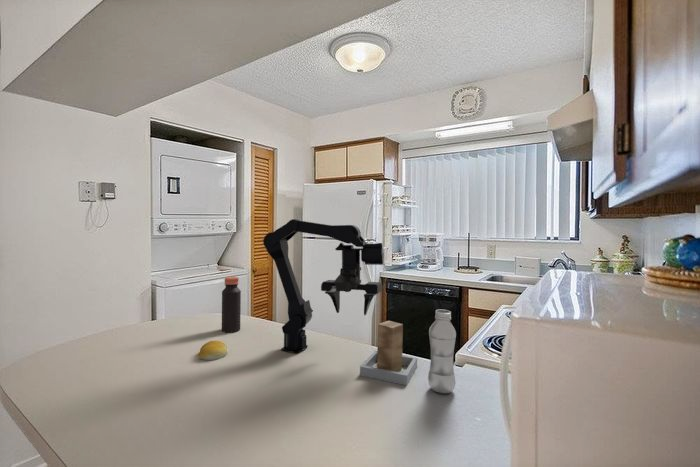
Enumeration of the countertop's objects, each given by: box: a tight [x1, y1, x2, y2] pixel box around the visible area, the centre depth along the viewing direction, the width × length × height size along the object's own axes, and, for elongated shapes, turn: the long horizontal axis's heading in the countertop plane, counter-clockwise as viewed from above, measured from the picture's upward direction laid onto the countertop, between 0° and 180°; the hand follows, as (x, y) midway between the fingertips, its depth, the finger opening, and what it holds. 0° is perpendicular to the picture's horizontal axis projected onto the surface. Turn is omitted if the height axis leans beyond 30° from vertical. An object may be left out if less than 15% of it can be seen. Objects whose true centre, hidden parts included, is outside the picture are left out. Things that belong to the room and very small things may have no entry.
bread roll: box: [197, 340, 229, 361], centre depth 104 cm, size 8×9×4 cm
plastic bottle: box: [427, 309, 457, 394], centre depth 85 cm, size 6×7×20 cm
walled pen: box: [359, 350, 418, 386], centre depth 96 cm, size 13×13×2 cm
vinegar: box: [221, 276, 242, 334], centre depth 128 cm, size 7×7×20 cm
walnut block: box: [376, 320, 404, 372], centre depth 95 cm, size 5×5×13 cm
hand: (351, 313), depth 107 cm, fingers open, 9 cm apart
